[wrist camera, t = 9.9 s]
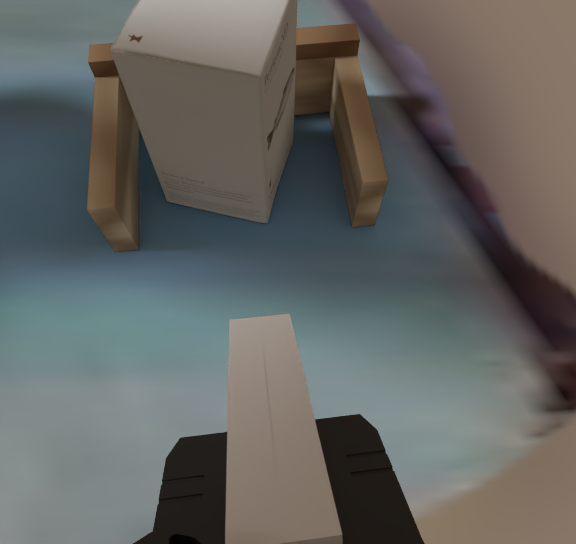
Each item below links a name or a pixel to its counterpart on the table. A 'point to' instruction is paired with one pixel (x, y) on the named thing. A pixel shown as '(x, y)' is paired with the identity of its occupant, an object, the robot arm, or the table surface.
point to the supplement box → (213, 98)
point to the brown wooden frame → (308, 99)
